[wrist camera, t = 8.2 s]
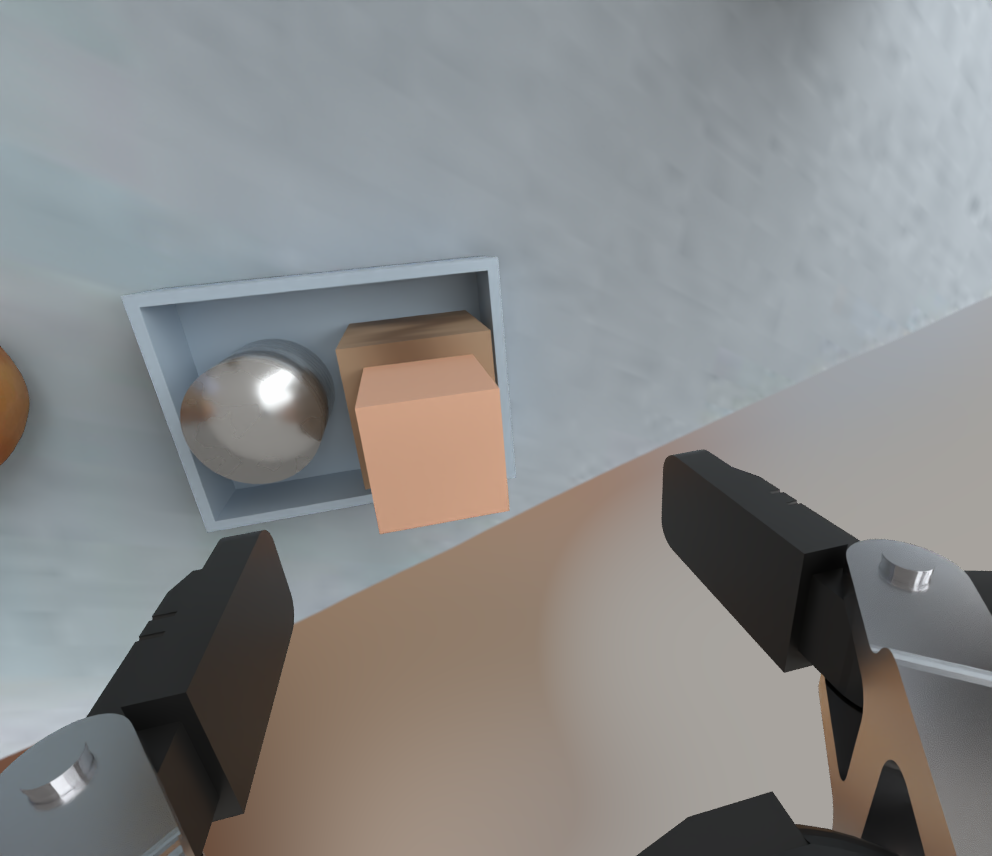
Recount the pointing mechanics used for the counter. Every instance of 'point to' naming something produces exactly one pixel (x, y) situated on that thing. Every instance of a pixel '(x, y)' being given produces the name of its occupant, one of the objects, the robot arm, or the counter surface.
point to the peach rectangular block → (432, 442)
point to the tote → (319, 327)
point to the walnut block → (407, 351)
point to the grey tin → (259, 412)
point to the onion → (11, 405)
